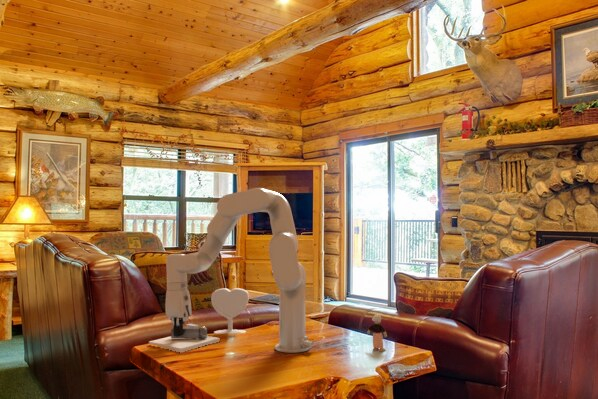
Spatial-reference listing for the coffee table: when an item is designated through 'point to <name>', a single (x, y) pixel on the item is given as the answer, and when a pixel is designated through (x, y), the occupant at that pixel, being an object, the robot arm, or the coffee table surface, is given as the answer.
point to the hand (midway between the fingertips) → (178, 335)
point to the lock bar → (192, 333)
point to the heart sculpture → (229, 305)
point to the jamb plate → (184, 342)
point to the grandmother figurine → (377, 333)
